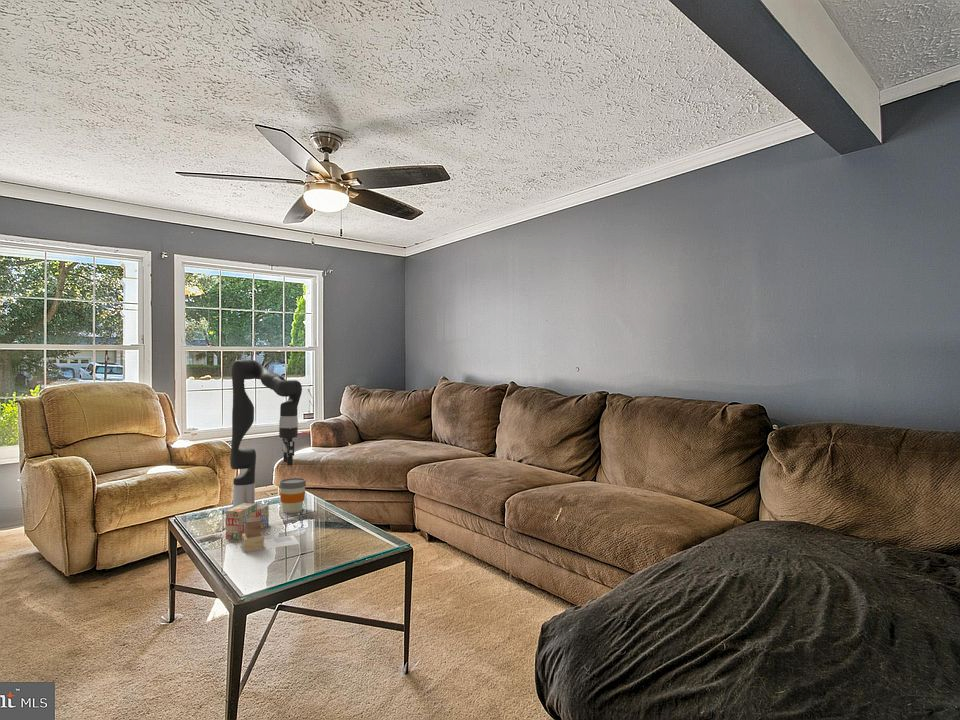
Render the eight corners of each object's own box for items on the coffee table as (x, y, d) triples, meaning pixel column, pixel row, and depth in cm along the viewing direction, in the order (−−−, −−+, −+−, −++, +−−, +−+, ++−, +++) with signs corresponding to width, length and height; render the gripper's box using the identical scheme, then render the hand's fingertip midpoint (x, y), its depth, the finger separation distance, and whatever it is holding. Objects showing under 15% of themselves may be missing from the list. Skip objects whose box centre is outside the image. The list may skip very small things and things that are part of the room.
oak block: (242, 546, 201) (242, 533, 201) (261, 543, 205) (261, 531, 205) (244, 552, 195) (244, 539, 195) (263, 549, 199) (263, 536, 199)
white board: (236, 544, 204) (236, 543, 204) (293, 536, 216) (293, 535, 216) (239, 554, 194) (239, 553, 194) (299, 544, 205) (299, 543, 205)
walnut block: (245, 534, 201) (245, 519, 201) (258, 532, 204) (259, 517, 204) (246, 537, 197) (247, 522, 197) (260, 535, 199) (261, 520, 199)
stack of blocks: (256, 524, 232) (256, 497, 232) (268, 525, 231) (269, 498, 231) (225, 539, 211) (225, 510, 211) (238, 540, 210) (239, 510, 210)
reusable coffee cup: (310, 508, 258) (311, 479, 258) (293, 515, 246) (294, 484, 247) (291, 506, 262) (291, 477, 263) (273, 512, 251) (273, 482, 251)
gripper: (276, 425, 224) (276, 461, 224) (282, 428, 212) (281, 467, 211) (294, 424, 228) (293, 460, 227) (301, 427, 216) (300, 465, 215)
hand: (287, 463), depth 219 cm, fingers open, 8 cm apart
